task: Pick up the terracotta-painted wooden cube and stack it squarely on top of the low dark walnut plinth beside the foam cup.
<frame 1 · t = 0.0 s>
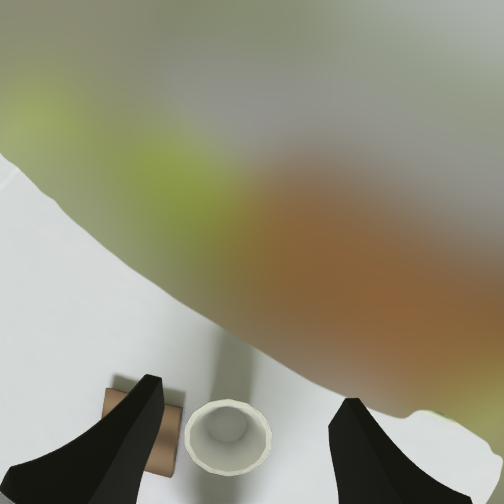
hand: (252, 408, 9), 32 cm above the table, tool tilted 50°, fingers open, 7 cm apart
foam cup: (226, 424, 35), on the table
walnut plinth: (141, 431, 33), on the table
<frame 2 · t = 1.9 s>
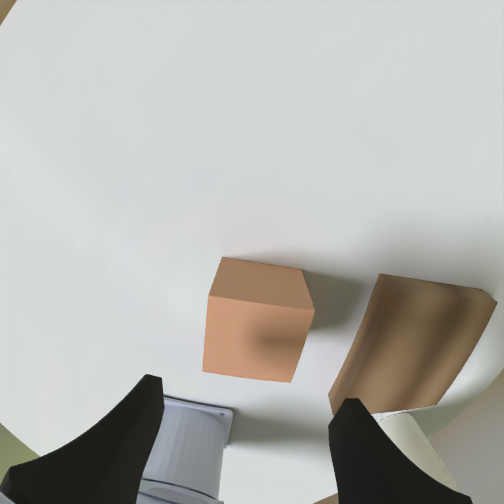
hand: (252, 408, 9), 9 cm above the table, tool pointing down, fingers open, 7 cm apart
foam cup: (388, 427, 24), on the table
walnut plinth: (409, 342, 20), on the table
terracotta block: (255, 297, 18), on the table
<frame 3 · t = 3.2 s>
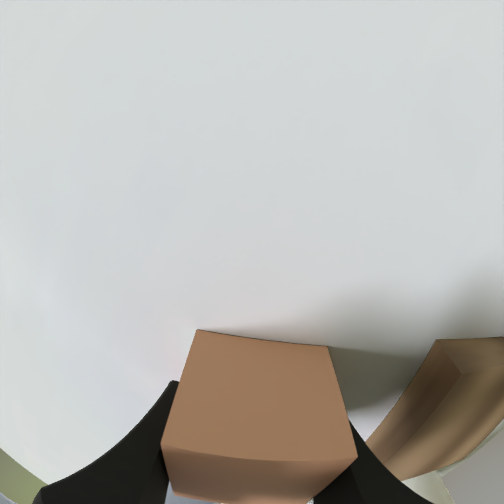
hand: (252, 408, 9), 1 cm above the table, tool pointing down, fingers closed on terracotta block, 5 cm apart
foam cup: (405, 476, 17), on the table
walnut plinth: (448, 403, 12), on the table
terracotta block: (253, 383, 11), on the table, touching gripper
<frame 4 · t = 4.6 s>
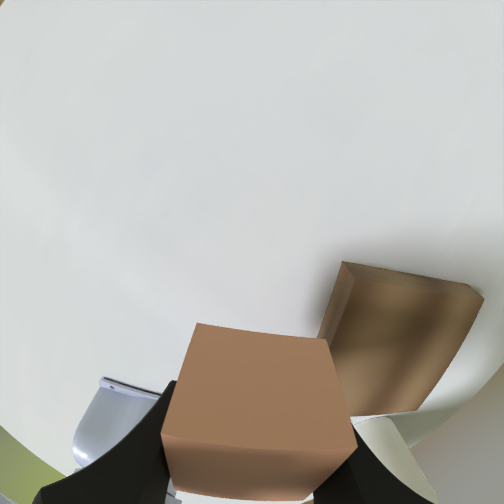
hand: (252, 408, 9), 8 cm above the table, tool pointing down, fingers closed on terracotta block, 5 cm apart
foam cup: (366, 431, 23), on the table
walnut plinth: (384, 340, 19), on the table
terracotta block: (252, 377, 11), point 7 cm above the table, touching gripper
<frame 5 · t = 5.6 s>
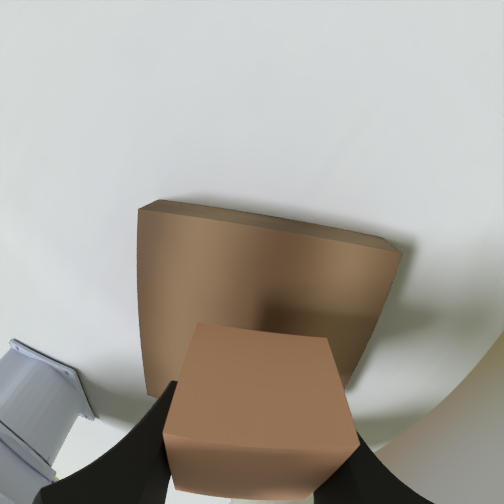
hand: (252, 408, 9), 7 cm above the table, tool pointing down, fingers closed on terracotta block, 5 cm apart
foam cup: (281, 436, 20), on the table
walnut plinth: (254, 314, 16), on the table
terracotta block: (253, 376, 11), point 5 cm above the table, touching gripper
when the fingers open (5 cm above the table, at t = 6.3 s): terracotta block drops 1 cm, resting on walnut plinth.
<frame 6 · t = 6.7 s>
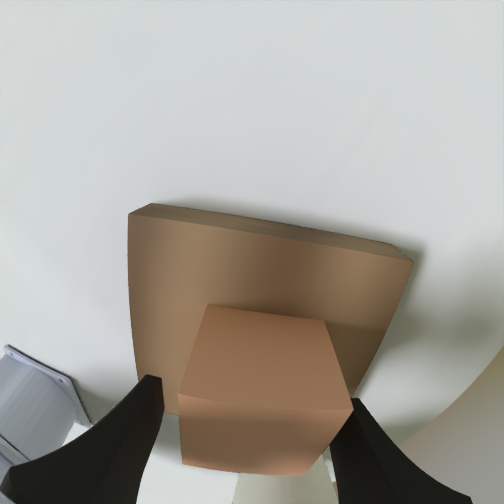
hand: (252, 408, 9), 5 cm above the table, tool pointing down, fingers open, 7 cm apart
foam cup: (281, 446, 19), on the table
walnut plinth: (255, 324, 15), on the table, touching terracotta block
terracotta block: (256, 357, 12), point 2 cm above the table, touching walnut plinth
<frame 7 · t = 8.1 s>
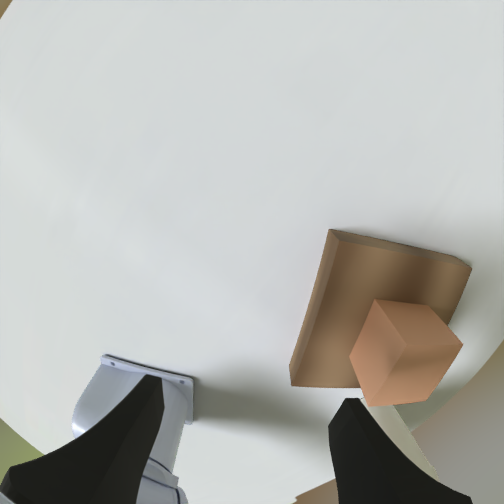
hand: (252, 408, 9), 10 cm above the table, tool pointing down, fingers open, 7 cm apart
foam cup: (364, 411, 24), on the table
walnut plinth: (375, 311, 20), on the table
terracotta block: (390, 331, 17), point 2 cm above the table
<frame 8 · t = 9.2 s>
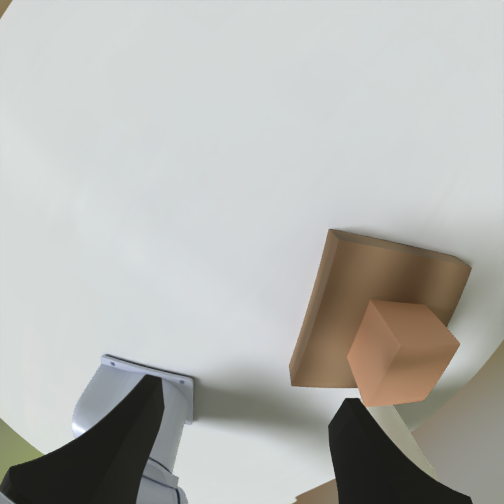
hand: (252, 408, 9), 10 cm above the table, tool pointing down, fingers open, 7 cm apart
foam cup: (364, 411, 24), on the table
walnut plinth: (375, 311, 20), on the table, touching terracotta block
terracotta block: (387, 331, 17), point 2 cm above the table, touching walnut plinth
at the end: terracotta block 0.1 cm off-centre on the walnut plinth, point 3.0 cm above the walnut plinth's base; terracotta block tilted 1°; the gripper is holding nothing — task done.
